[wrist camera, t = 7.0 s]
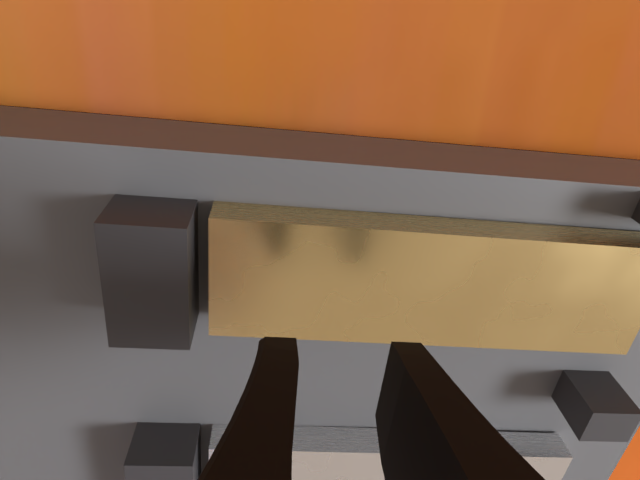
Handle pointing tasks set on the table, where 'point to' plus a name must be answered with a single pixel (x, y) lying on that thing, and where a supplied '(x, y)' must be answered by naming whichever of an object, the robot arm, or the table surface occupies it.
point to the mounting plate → (193, 288)
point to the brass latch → (420, 280)
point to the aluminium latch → (364, 455)
